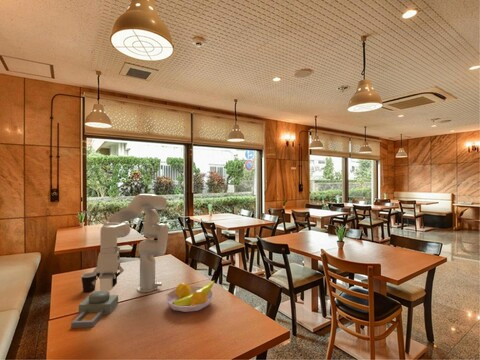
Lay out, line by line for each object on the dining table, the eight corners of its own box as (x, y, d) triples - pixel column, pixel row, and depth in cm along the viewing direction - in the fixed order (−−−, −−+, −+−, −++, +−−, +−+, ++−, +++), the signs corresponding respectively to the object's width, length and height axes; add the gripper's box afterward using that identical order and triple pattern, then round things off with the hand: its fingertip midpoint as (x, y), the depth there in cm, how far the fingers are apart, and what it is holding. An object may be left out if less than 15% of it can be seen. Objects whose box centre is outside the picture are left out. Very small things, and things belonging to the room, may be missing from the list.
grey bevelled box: (116, 284, 138) (116, 270, 138) (110, 290, 130) (110, 276, 130) (106, 284, 137) (106, 271, 137) (99, 290, 129) (100, 276, 129)
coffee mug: (84, 294, 161) (84, 278, 161) (78, 290, 167) (78, 275, 167) (104, 288, 171) (104, 273, 171) (97, 285, 176) (97, 270, 176)
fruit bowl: (165, 321, 133) (166, 299, 133) (166, 297, 159) (166, 278, 159) (220, 314, 140) (220, 293, 140) (212, 292, 166) (212, 274, 166)
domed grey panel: (118, 303, 150) (118, 289, 150) (99, 326, 127) (99, 310, 127) (89, 304, 149) (89, 290, 149) (64, 328, 126) (64, 311, 126)
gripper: (128, 247, 138) (128, 282, 138) (94, 248, 136) (94, 283, 136) (123, 251, 131) (123, 288, 131) (87, 252, 129) (87, 289, 129)
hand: (108, 285), depth 134 cm, fingers closed on grey bevelled box, 5 cm apart
